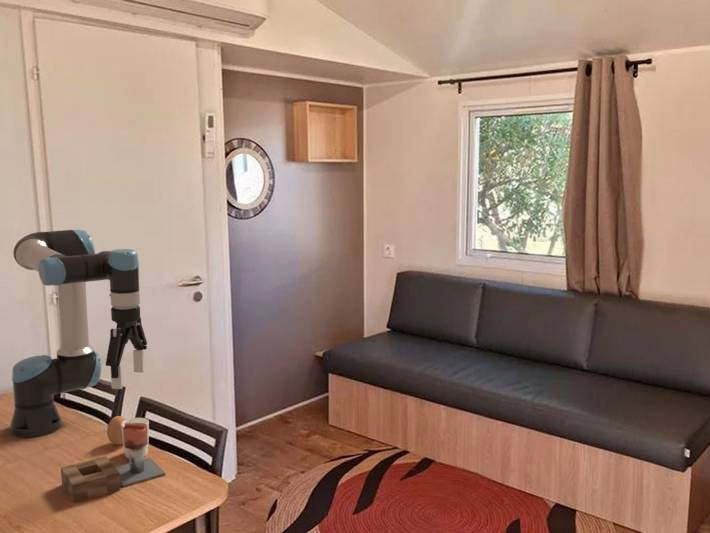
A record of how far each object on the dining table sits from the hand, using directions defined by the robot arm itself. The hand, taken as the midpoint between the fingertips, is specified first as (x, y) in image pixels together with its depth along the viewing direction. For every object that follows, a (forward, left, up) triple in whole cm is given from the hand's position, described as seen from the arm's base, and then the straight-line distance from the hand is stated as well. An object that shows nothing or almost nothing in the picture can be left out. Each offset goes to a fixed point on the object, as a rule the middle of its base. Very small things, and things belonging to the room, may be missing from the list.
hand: (128, 380), depth 185 cm
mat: (+2, +1, -27) cm, 27 cm away
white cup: (-10, +5, -28) cm, 30 cm away
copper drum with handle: (+2, +1, -27) cm, 27 cm away
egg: (-20, +3, -27) cm, 34 cm away
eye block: (+3, -12, -27) cm, 30 cm away
